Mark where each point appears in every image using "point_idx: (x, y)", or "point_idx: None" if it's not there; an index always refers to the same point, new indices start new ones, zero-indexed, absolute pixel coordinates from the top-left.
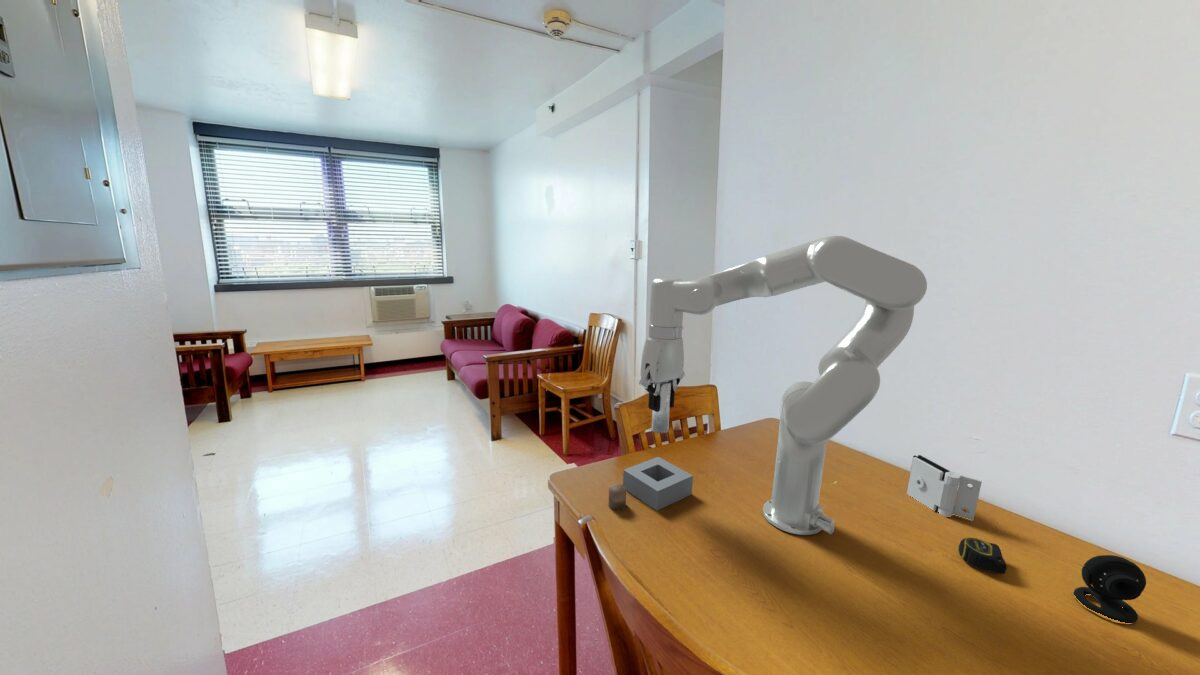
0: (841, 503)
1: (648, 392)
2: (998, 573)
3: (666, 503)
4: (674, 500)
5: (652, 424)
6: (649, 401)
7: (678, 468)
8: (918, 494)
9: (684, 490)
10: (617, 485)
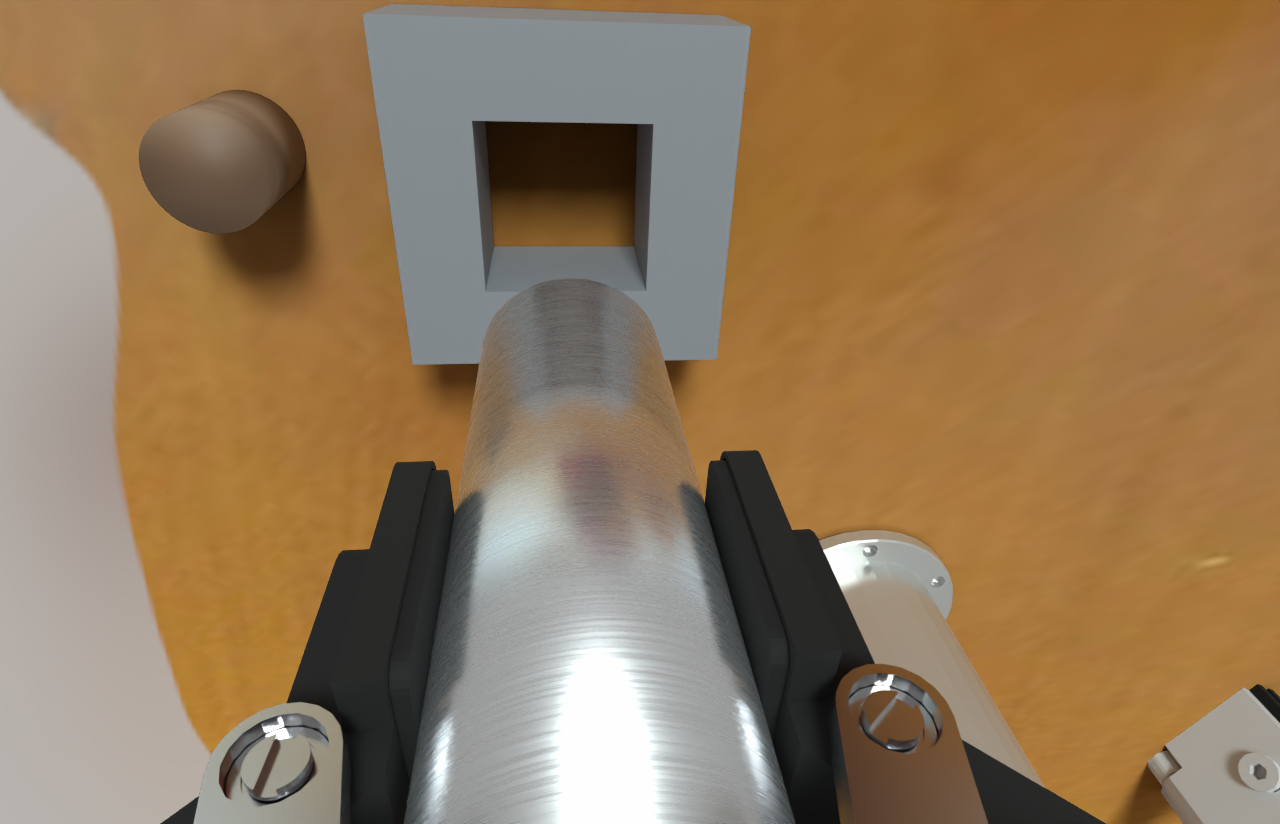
0: (1055, 630)
1: (245, 755)
2: None
3: None
4: None
5: (479, 369)
6: (322, 614)
7: (720, 251)
8: (1226, 733)
9: None
10: (220, 147)
